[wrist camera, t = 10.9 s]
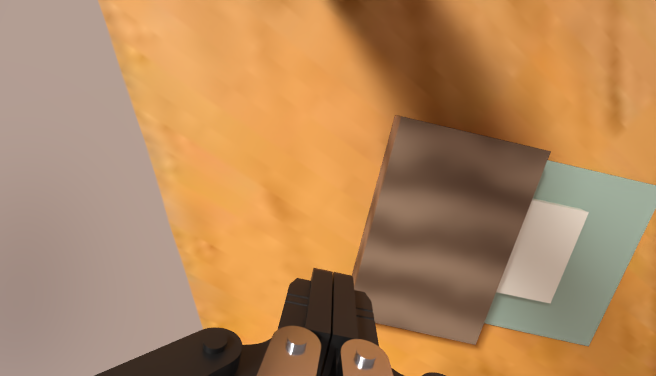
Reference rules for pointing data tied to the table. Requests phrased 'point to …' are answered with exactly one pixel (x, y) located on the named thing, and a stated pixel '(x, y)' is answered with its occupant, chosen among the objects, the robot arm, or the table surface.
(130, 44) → the table surface
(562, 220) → the white flat block
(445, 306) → the walnut deck
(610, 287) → the green mat
